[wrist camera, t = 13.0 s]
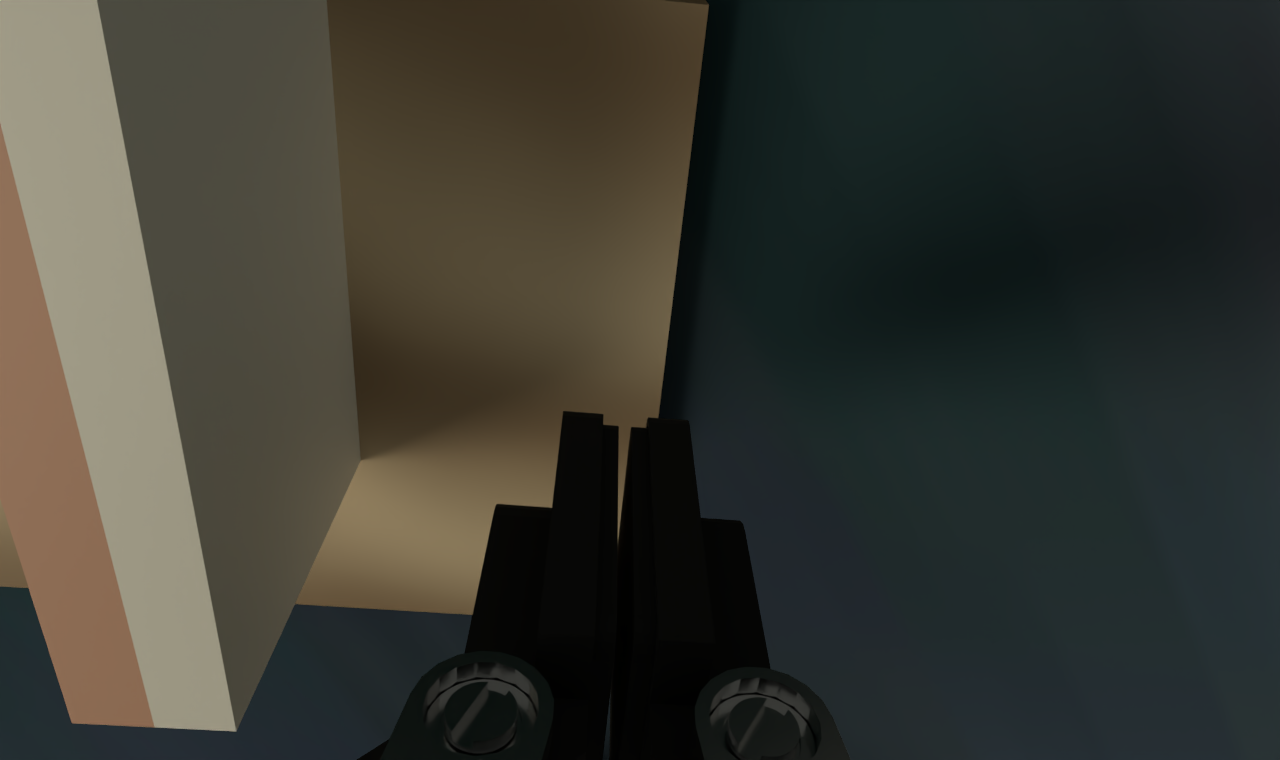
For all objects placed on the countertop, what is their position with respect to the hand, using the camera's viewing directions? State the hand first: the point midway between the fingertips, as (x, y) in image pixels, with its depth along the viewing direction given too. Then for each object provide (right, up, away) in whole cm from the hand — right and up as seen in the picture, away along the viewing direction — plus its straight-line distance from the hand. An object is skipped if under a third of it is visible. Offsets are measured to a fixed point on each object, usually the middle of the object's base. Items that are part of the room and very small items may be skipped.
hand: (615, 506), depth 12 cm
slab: (-5, +4, +2) cm, 7 cm away
